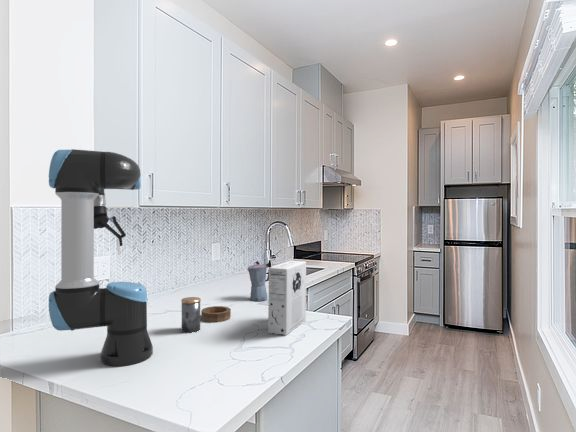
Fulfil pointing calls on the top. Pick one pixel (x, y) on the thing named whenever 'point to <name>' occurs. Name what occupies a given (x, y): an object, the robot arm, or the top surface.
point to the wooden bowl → (216, 314)
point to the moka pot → (258, 281)
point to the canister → (190, 314)
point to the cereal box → (287, 296)
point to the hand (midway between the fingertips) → (101, 256)
